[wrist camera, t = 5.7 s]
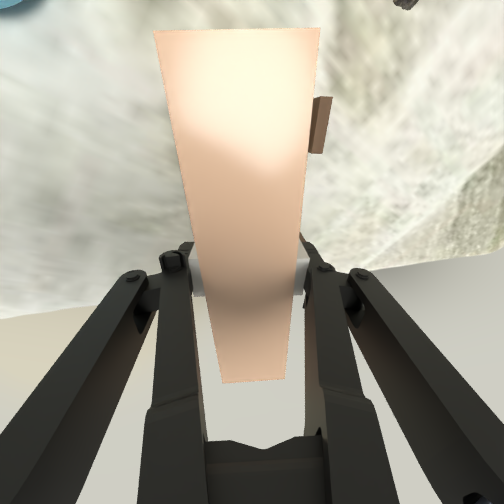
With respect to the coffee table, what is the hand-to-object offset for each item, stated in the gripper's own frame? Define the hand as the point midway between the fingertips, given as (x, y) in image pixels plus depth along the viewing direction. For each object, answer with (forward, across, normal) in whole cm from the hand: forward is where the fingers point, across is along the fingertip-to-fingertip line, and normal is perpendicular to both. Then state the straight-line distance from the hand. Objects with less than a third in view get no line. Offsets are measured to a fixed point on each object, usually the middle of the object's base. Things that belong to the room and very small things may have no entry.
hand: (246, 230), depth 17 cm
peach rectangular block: (+1, 0, 0) cm, 1 cm away
